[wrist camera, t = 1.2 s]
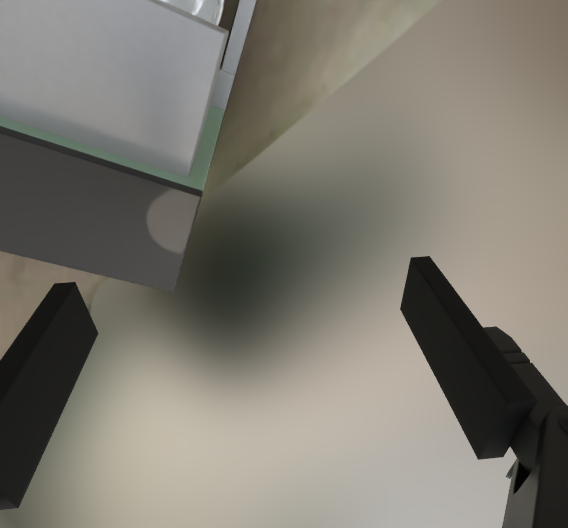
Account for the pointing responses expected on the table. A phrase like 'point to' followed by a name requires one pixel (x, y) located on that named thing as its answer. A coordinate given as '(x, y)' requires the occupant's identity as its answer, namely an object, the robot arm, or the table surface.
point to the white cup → (201, 8)
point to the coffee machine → (109, 131)
